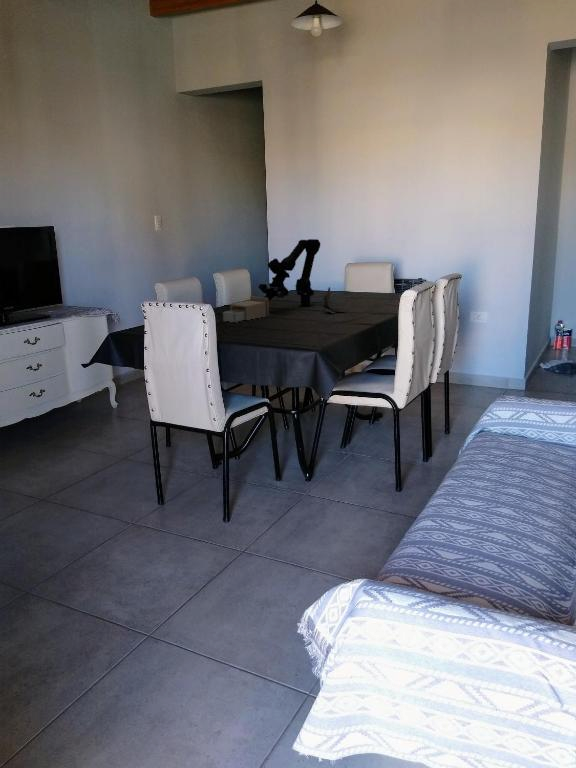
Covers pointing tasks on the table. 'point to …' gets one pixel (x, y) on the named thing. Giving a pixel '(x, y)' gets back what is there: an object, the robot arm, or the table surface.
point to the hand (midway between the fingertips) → (266, 301)
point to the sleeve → (251, 309)
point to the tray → (244, 311)
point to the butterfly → (326, 301)
